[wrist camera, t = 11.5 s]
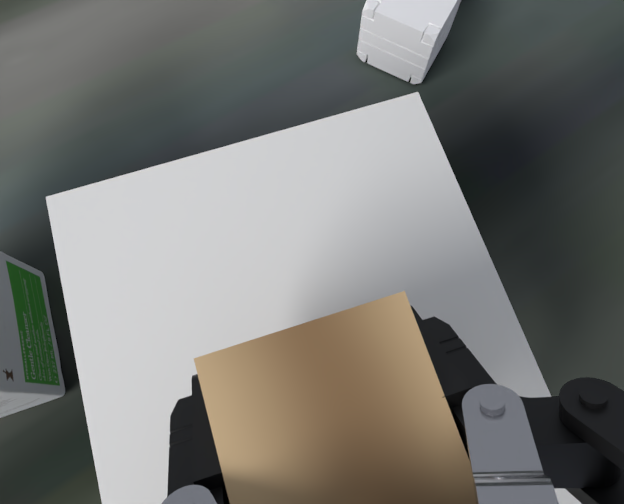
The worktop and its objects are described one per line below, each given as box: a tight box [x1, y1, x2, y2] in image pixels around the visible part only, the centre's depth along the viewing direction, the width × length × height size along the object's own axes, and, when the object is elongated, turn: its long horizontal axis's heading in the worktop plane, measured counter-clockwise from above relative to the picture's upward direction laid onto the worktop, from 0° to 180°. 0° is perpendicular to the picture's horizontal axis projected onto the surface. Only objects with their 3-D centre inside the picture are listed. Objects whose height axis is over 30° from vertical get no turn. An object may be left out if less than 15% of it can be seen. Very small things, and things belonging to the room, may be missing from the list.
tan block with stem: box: [194, 291, 476, 504], centre depth 17 cm, size 6×6×12 cm
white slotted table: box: [46, 92, 582, 504], centre depth 24 cm, size 16×20×12 cm
